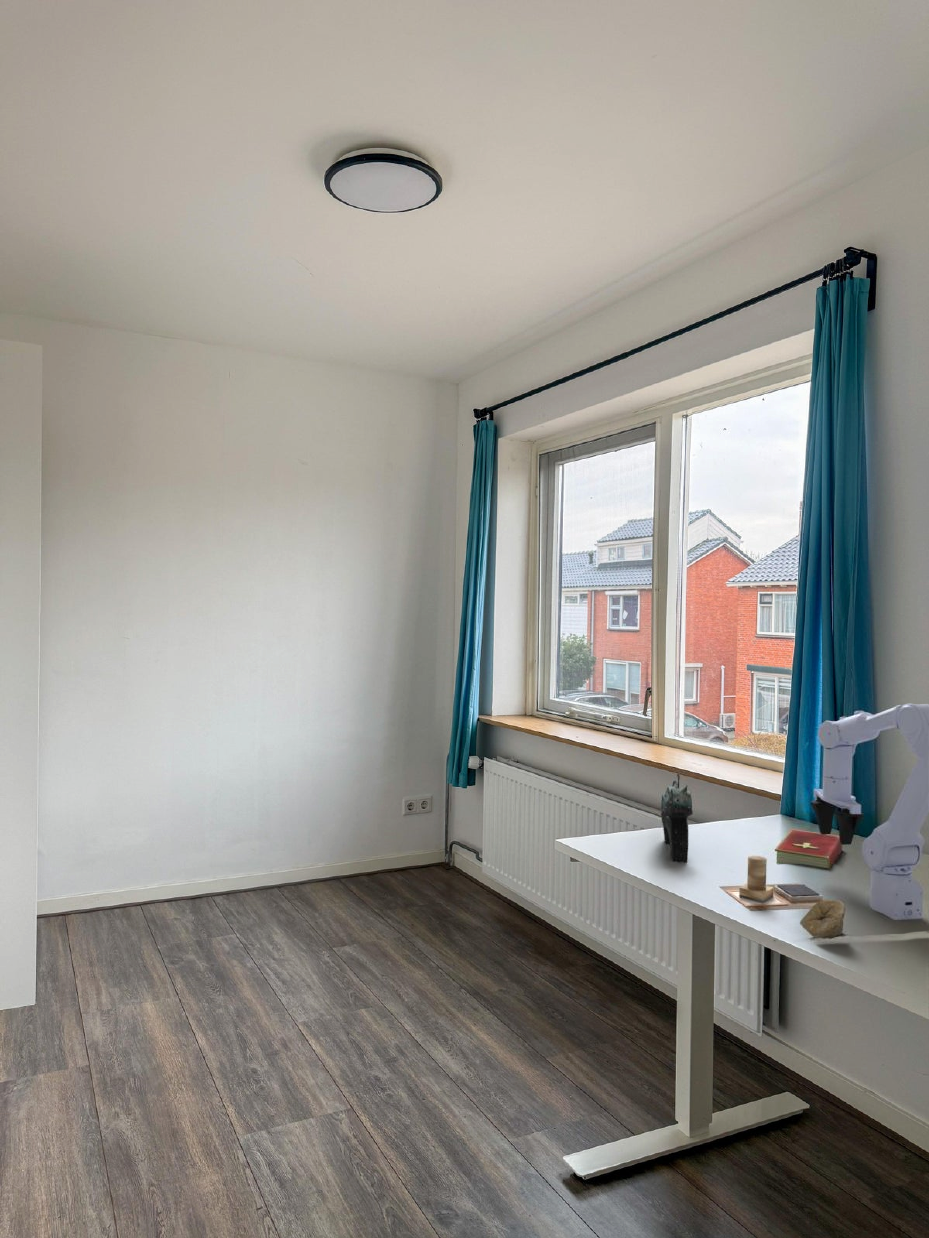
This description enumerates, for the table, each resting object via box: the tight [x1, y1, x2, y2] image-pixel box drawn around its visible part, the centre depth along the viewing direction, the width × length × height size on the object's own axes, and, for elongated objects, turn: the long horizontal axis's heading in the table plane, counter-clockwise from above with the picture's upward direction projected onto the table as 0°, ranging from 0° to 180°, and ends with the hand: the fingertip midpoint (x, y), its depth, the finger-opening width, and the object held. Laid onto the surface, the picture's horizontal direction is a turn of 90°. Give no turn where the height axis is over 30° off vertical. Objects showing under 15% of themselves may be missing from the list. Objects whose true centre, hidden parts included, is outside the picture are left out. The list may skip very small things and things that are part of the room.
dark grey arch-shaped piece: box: [660, 771, 693, 863], centre depth 210 cm, size 20×6×20 cm, turn 173°
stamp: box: [739, 855, 774, 903], centre depth 176 cm, size 5×5×8 cm
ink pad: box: [774, 883, 824, 902], centre depth 177 cm, size 7×7×1 cm
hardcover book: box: [774, 828, 843, 870], centre depth 207 cm, size 12×21×4 cm, turn 149°
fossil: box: [799, 899, 846, 940], centre depth 159 cm, size 9×4×10 cm
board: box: [718, 883, 820, 912], centre depth 177 cm, size 14×18×1 cm
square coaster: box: [724, 890, 788, 908], centre depth 176 cm, size 9×9×1 cm
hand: (835, 838), depth 186 cm, fingers open, 7 cm apart
